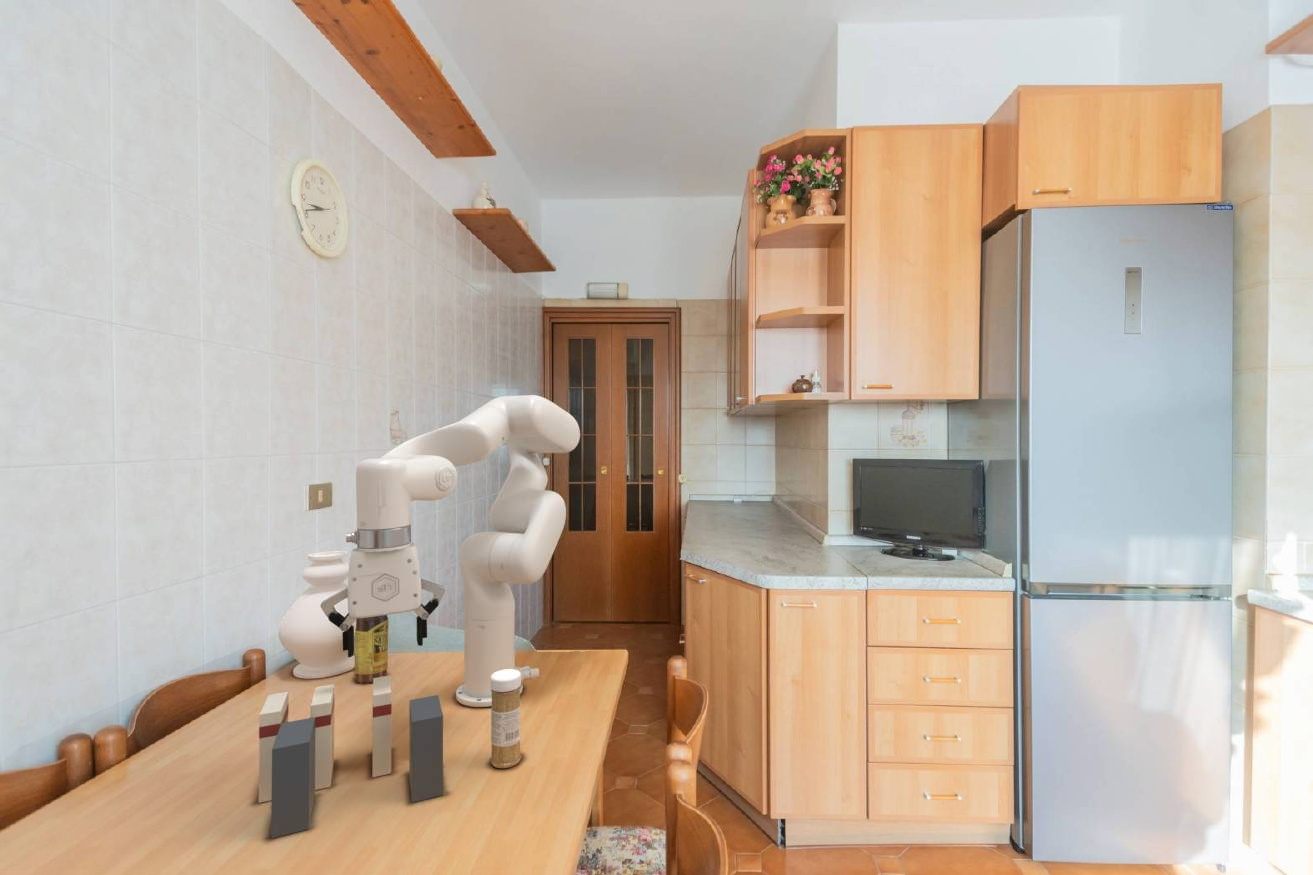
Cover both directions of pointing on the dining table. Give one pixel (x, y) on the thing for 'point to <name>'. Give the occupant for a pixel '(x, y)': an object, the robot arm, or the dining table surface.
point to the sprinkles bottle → (505, 718)
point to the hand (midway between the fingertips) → (386, 648)
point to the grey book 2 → (425, 748)
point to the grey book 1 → (293, 777)
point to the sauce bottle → (371, 648)
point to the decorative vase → (318, 620)
